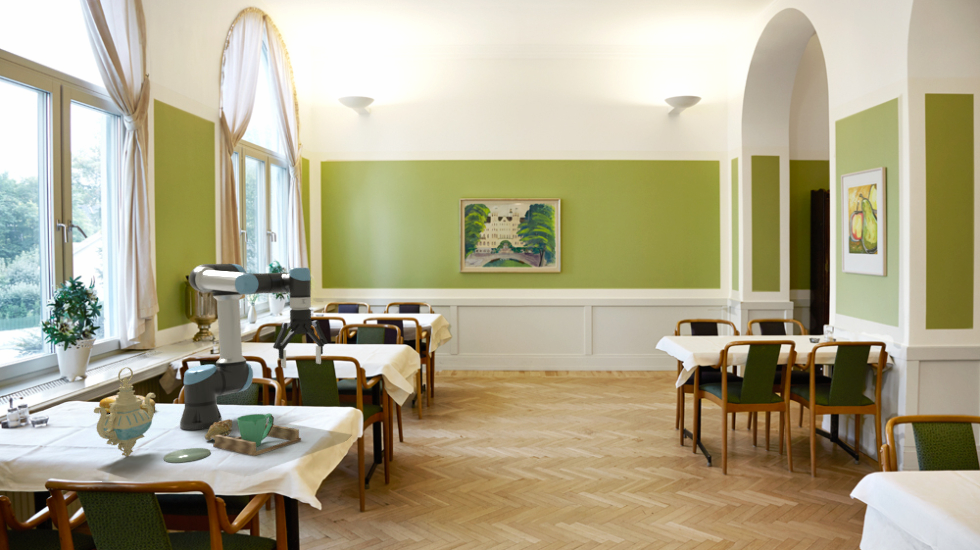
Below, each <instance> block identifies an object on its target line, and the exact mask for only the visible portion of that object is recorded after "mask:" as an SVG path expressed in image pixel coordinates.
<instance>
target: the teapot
mask: <svg viewBox="0 0 980 550" xmlns="http://www.w3.org/2000/svg"><path fill="white" fill-rule="evenodd" d="M125 369H128V371H130V377H129V378H128V377H126V376H125V377H124V378H123V379H121V373H122V371H124V370H125ZM133 376H134V371H133V369H131V368H130V367H123V368H121V369H120V370H119V372H118V375H117V378H118V380H119V382H121V383H122V384H121V383H119V386H120V387H118V390H119V392H116V395H118V397H116V401H115V402H113V403H110V404H109V406H111V407H110V409H109V411H110V412H111V413H110V414H107V412H106V410H105V409H104V408H102V407H99V406H96V407H94V409H93V413H95V414H99V413H100V416H99V419H98V421H97V424H96V432H97V434H98V435H99V437H101V438H102V439H104V440H107V441H106V445H110V446H117V449H118V450H120V451H121V453H122V454H121V456H125V457H129V456H130V455H131V454H132V453H133V452H134V451H133V448H134V446H135V445H136V443H137V441H138V440H139V439H143V438H145V437H146V436H145V435H144V434H145V433H147V431H148V430H149V429H150V428H151V426H152V423H153V418H154V414H155V411H154V410H153V407H152V406H151V404H150V399H155V398H156V394H155V392H149V393H147V395H146V396H144V397H145V404H143V405H142V402H143V400H141V399H140V398H138V397H137V398H136V394H134V393H135V392H136V390H133V389H134V386H133V384H132V382H131V383H129V382H130V381H131V380H132V378H133ZM141 405H142V408H147V409H148V413H147V412H145V411H144V410H142V409H140V406H141ZM100 410H101V412H100Z"/></svg>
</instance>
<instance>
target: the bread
mask: <svg viewBox="0 0 980 550" xmlns="http://www.w3.org/2000/svg"><path fill="white" fill-rule="evenodd" d="M135 395H136V394H135ZM116 397H118V394H115V395H112V396H108V397H104V398H103V399H101V400H100V401H99V405H98V407H102V408H104V409H105V410H106V412H107V413H111V412H110V411H109V409H110V407H111V406H109V404H110V403H113V402H115V401H116ZM137 397H138V398H140V399H141V400H143V402H142V405H143V404H145V397H146V396H144V395H139V394H138V395H136V398H137ZM150 404H151V406H152V407H153V410H154V412H155V411H156V402H155V401H154V399H153V398H150ZM142 405H141V406H140V409H142V410H144V411H145V412H147V413H148V409H147V408H142ZM99 413H101V410H100V411H99Z"/></svg>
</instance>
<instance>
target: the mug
mask: <svg viewBox="0 0 980 550" xmlns="http://www.w3.org/2000/svg"><path fill="white" fill-rule="evenodd" d="M274 419H275V418H274V415H273V414H272V413H266V414H262V413H260V414H259V413H258V414H257V413H256V414H255V413H253V414H252V413H251V414H246V415H242V416H238V418H236V421H237V423H236V424H237V426H238V431H239V434H240V436H241V438H242V440H247V441H251V442H256V448H257V447H259V446H261V443H262V441H263V440H264V439H266V437H268V436H267V435H268V434H269V432H270V430H271V429H272V427H273V425H274V424H275V423H274ZM267 420H268V422H267ZM266 424H268V425H267V427H266V429H265V426H266Z"/></svg>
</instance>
